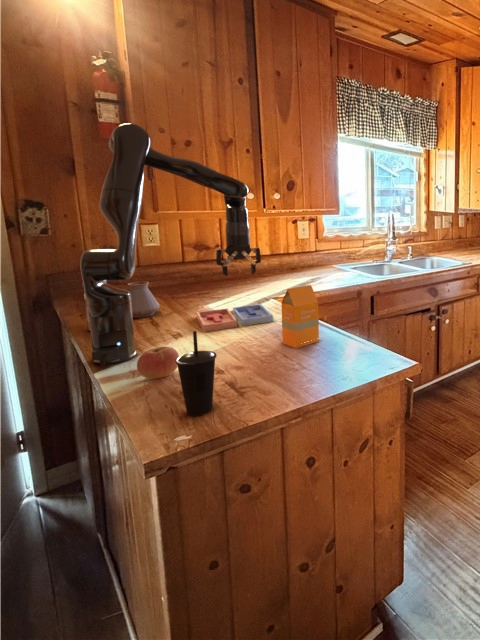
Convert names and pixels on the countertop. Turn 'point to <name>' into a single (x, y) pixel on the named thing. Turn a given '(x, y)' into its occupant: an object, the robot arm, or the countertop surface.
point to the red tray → (209, 325)
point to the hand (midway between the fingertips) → (239, 274)
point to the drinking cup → (197, 379)
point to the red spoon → (214, 317)
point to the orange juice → (300, 317)
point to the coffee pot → (142, 299)
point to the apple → (157, 362)
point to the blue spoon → (252, 313)
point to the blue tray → (242, 317)
